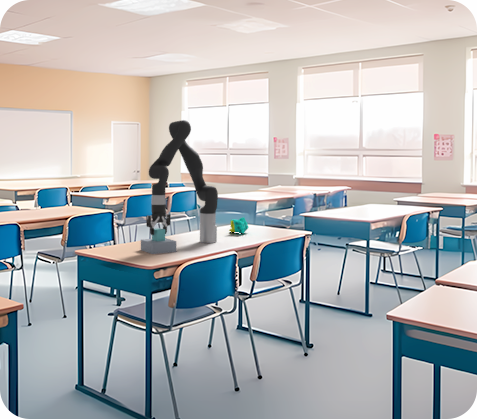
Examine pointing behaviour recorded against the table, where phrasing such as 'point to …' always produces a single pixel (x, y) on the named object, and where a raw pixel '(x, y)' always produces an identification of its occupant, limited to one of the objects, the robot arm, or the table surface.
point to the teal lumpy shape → (239, 225)
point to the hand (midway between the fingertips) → (158, 234)
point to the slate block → (158, 246)
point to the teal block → (159, 235)
